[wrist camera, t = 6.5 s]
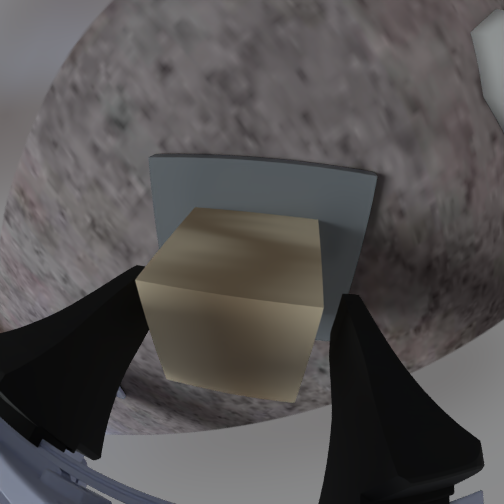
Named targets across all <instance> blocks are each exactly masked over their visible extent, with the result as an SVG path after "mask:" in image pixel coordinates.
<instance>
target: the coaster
mask: <svg viewBox="0 0 504 504" xmlns="http://www.w3.org/2000/svg"><path fill="white" fill-rule="evenodd" d="M149 169H150V180H151V190H152V199H153V208H154V216H155V223H156V231H157V238H158V244H159V249H160V248H161V247H162V246H163V244H164V243H165V242H166V241H167V239H168V238H169V237H170V236H171V235H172V233H173V232H174V231H175V230H176V229H177V228H178V226H179V225H180V224H181V223H182V222H183V221H184V219H185V218H186V217H187V216H188V215H189V214H190V212H191V211H192V210H193V209H194V208H195V207H198V208H211V209H222V210H233V211H244V212H254V213H264V214H273V215H282V216H291V217H300V218H308V219H316V220H318V223H319V235H320V248H321V262H322V279H323V301H324V309H323V313H322V316H321V320H320V323H319V327H318V331H317V334H316V337H315V340H322V341H330V332H331V329H332V326H333V323H334V320H335V317H336V313H337V310H338V307H339V304H340V300H341V297H342V294H348V293H349V290H350V287H351V283H352V280H353V277H354V273H355V270H356V266H357V263H358V259H359V255H360V252H361V248H362V244H363V240H364V236H365V232H366V228H367V223H368V219H369V215H370V210H371V206H372V201H373V196H374V191H375V186H376V181H377V175H376V174H375V173H374V172H371V171H365V170H359V169H353V168H347V167H340V166H334V165H326V164H319V163H311V162H303V161H294V160H284V159H273V158H261V157H248V156H231V155H206V154H155V155H153V156H151V157H149Z"/></svg>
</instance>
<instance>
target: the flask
mask: <svg viewBox="0 0 504 504" xmlns="http://www.w3.org/2000/svg"><path fill="white" fill-rule="evenodd" d="M470 33H471V36H472V40H473V44H474V48H475V53H476V57H477V62H478V67H479V72H480V78H481V84H482V91H483V97H484V99H485V100H486V102H487V104H488V105H489V107H490V109H491V110H492V112H493V114H494V116H495V118H496V119H497V121H498V123H499V125H500V127H501V129H502V131H503V133H504V10H499V9H496V10H494V11H493V12H492V13H491V14H490V15H489V16H488V17H487V18H486V19H485V20H483V21H482V22H481V23H480V24H479V25H478V26H477V27H476V28H475V29H474V30H473V31H472V32H470Z"/></svg>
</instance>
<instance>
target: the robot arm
mask: <svg viewBox="0 0 504 504" xmlns="http://www.w3.org/2000/svg"><path fill="white" fill-rule="evenodd" d="M144 268H145V266H139V265H136V266H134V267H133V268H131V269H129V270H127V271H126V272H124V273H122V274H121V275H119V276H117V277H116V278H114V279H113V280H111V281H110V282H108V283H106V284H105V285H103V286H102V287H100V288H99V289H97V290H95V291H94V292H92V293H90V294H89V295H87V296H85V297H84V298H82V299H80V300H79V301H77V302H75V303H74V304H72V305H70V306H68V307H66V308H65V309H63V310H61V311H59V312H57V313H55V314H53V315H51V316H48V317H46V318H44V319H41V320H39V321H36V322H34V323H32V324H29V325H26V326H24V327H21V328H18V329H14V330H11V331H8V332H4V333H0V504H112V503H111V501H109V500H107V499H106V498H104V497H102V496H101V495H99V494H97V493H95V492H93V491H91V490H89V489H87V488H86V485H89V486H91V487H93V488H95V489H97V490H99V491H100V492H102V493H104V494H107V495H108V496H110V497H113V498H115V499H117V500H119V501H121V502H123V503H126V504H175V503H171V502H168V501H165V500H162V499H160V498H156V497H154V496H151V495H148V494H146V493H143V492H141V491H138V490H136V489H133V488H131V487H128V486H126V485H124V484H122V483H119V482H117V481H115V480H113V479H111V478H109V477H107V476H105V475H102V474H101V473H99V472H96V471H95V470H93V469H91V468H89V467H88V466H87V462H86V460H85V459H84V456H86V457H88V458H90V459H92V460H97V459H99V458H101V453H102V447H103V442H104V436H105V432H106V428H107V424H108V420H109V416H110V413H111V410H112V407H113V404H114V400H115V397H116V396H117V397H119V398H122V399H125V397H126V395H125V394H124V392H123V390H122V389H121V387H120V384H121V381H122V379H123V377H124V375H125V373H126V370H127V369H128V367H129V365H130V363H131V361H132V359H133V358H134V356H135V354H136V352H137V350H138V349H139V347H140V345H141V343H142V342H143V340H144V338H145V336H146V334H147V333H148V331H149V327H148V324H147V320H146V317H145V314H144V310H143V307H142V303H141V300H140V296H139V293H138V289H137V285H136V281H135V279H136V278H137V277H138V276H139V274H140V273H141V272H142V270H143V269H144ZM329 362H330V379H331V398H332V423H331V434H330V443H329V451H328V458H327V465H326V471H325V476H324V482H323V486H322V491H321V496H320V500H319V504H484V503H483V491H482V490H480V491H478V492H475V493H473V494H470V495H468V496H465V497H462V498H460V499H457V500H454V501H451V502H449V496H450V495H453V494H454V485H455V484H457V483H459V482H461V481H463V480H465V479H467V478H469V477H471V476H473V475H475V474H476V473H478V472H479V471H481V470H482V468H483V467H484V460H483V453H482V447H481V443H480V440H478V439H477V438H476V437H474V436H473V435H472V434H470V433H469V432H468V431H466V430H465V429H464V428H463V427H461V426H460V425H459V424H458V423H456V422H455V421H454V420H453V419H452V418H451V417H450V416H449V415H448V414H446V413H445V412H444V411H443V410H442V409H441V408H440V407H439V406H438V405H437V404H436V403H435V402H434V401H433V400H432V399H431V397H429V396H428V394H427V393H426V392H425V391H424V390H423V389H422V388H421V387H420V385H419V384H418V383H417V382H416V381H415V379H414V378H413V377H412V376H411V374H410V373H409V372H408V371H407V369H406V368H405V367H404V365H403V364H402V363H401V361H400V360H399V358H398V357H397V356H396V354H395V353H394V351H393V350H392V348H391V347H390V345H389V344H388V342H387V341H386V339H385V337H384V336H383V334H382V333H381V331H380V329H379V328H378V326H377V325H376V323H375V321H374V319H373V318H372V316H371V314H370V313H369V311H368V309H367V308H366V306H365V304H364V303H363V301H362V299H361V298H360V296H359V295H353V294H342V297H341V300H340V304H339V307H338V310H337V313H336V317H335V320H334V323H333V326H332V329H331V332H330V349H329Z"/></svg>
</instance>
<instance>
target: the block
mask: <svg viewBox="0 0 504 504" xmlns="http://www.w3.org/2000/svg"><path fill="white" fill-rule="evenodd" d="M135 281H136V285H137V289H138V293H139V296H140V300H141V303H142V307H143V310H144V314H145V317H146V320H147V324H148V327H149V330H150V333H151V336H152V339H153V342H154V345H155V348H156V351H157V354H158V357H159V360H160V363H161V365H162V368H163V371H164V374H165V376H166V379H168V380H172V381H176V382H180V383H184V384H188V385H192V386H196V387H201V388H205V389H210V390H215V391H219V392H225V393H230V394H235V395H241V396H247V397H253V398H260V399H267V400H275V401H283V402H293V403H295V400H296V397H297V394H298V391H299V388H300V385H301V382H302V379H303V376H304V373H305V370H306V367H307V364H308V361H309V357H310V354H311V351H312V348H313V344H314V341H315V337H316V334H317V331H318V327H319V323H320V320H321V316H322V313H323V309H324V301H323V279H322V262H321V248H320V235H319V223H318V220H316V219H308V218H300V217H291V216H282V215H273V214H264V213H254V212H244V211H233V210H222V209H211V208H198V207H195V208H194V209H193V210H192V211H191V212H190V214H189V215H188V216H187V217H186V218H185V219H184V221H183V222H182V223H181V224H180V225H179V226H178V228H177V229H176V230H175V231H174V232H173V233H172V235H171V236H170V237H169V238H168V239H167V241H166V242H165V243H164V244H163V246H162V247H161V248H160V249H159V250H158V252H157V253H156V254H155V255H154V257H153V258H152V259H151V260H150V262H149V263H148V264H147V265H146V267H145V268H144V269H143V270H142V272H141V273H140V274H139V276H138V277H137V278H136V279H135Z"/></svg>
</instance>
